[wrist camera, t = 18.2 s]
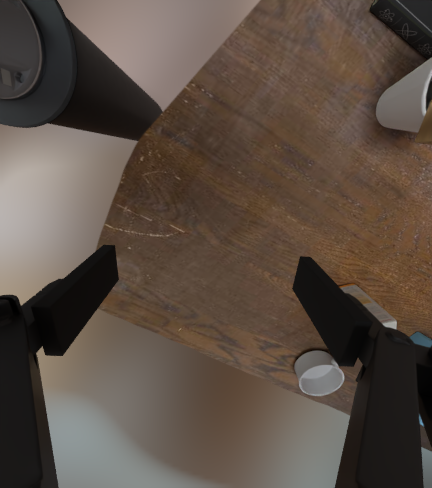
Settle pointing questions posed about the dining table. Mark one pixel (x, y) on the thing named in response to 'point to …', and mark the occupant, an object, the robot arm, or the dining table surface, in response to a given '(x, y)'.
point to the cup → (407, 100)
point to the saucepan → (318, 373)
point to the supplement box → (370, 305)
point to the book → (408, 21)
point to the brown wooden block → (426, 128)
